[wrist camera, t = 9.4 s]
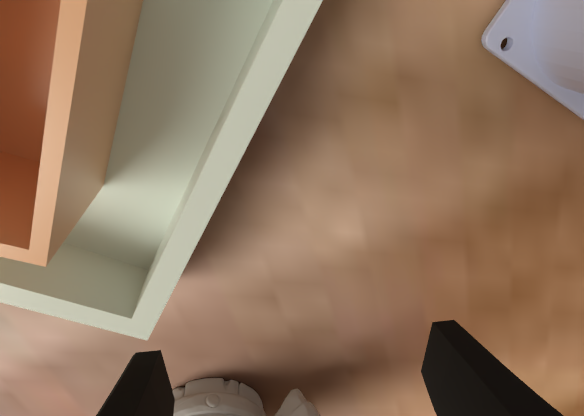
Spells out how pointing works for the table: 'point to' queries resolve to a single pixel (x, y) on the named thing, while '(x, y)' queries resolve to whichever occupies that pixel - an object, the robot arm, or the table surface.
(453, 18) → the table surface
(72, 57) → the box
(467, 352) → the robot arm
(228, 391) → the mug
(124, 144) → the big crate
